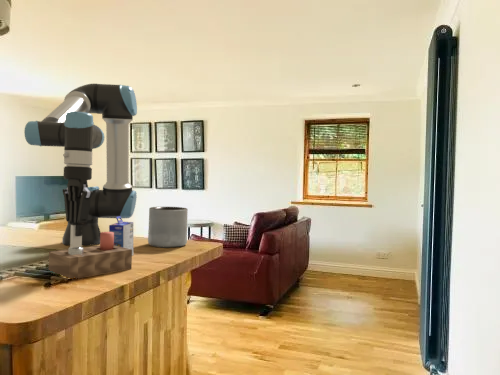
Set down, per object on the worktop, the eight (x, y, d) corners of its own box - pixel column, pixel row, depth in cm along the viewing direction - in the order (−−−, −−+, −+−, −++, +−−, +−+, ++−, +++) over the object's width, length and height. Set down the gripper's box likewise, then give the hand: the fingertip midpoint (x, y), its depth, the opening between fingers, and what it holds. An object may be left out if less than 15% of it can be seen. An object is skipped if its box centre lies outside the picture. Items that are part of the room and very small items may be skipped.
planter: (140, 243, 172) (142, 207, 171) (173, 240, 182) (174, 206, 182) (160, 249, 160) (161, 210, 159) (194, 246, 171) (195, 209, 170)
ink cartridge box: (118, 254, 147) (120, 214, 147) (133, 255, 147) (135, 215, 147) (107, 260, 137) (108, 217, 137) (123, 261, 137) (124, 218, 137)
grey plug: (65, 266, 118) (65, 247, 118) (78, 264, 122) (79, 246, 121) (72, 268, 116) (72, 249, 116) (85, 266, 119) (86, 247, 119)
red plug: (97, 250, 126) (97, 232, 126) (108, 248, 129) (109, 231, 129) (104, 252, 124) (104, 234, 123) (116, 250, 127) (116, 232, 127)
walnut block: (69, 280, 111) (69, 258, 111) (48, 272, 119) (48, 251, 118) (131, 268, 127) (132, 249, 127) (109, 262, 134) (110, 244, 134)
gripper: (54, 165, 119) (52, 245, 120) (77, 165, 111) (74, 251, 111) (78, 166, 125) (76, 242, 125) (102, 166, 117) (99, 248, 117)
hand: (75, 246), depth 118 cm, fingers closed
